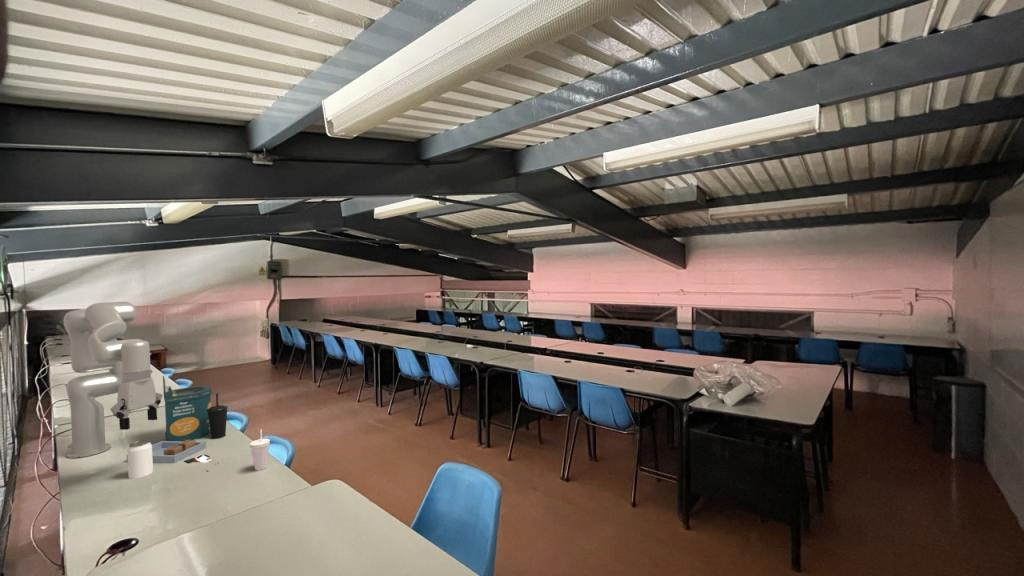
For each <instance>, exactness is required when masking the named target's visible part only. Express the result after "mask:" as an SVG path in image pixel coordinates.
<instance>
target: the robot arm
mask: <svg viewBox="0 0 1024 576" xmlns="http://www.w3.org/2000/svg"><path fill="white" fill-rule="evenodd" d="M137 315H138V312H137V309H136V307H135V305H134V304H133V303H131V302H129V301H109V302H106V301H105V302H97V303H92V304H90V305H89V306H87V307H86V308H85V309H75V310H71V311H68V312H67V313H65V315H64V316H63V326H64V329H65V331H66V333H67V334H68V335H67V336H68V337H69V340H70V359H71V360H70V362H71V369H72V371H73V372H74V373H77V374H83V373H84V374H85V373H93V374H86V375H81V376H77V377H73V378H72V379H70V380H69V381H68V382H67V384H66V394H67V397H68V398H67V399H68V401H69V408H70V418H71V419H70V422H71V423H70V424H71V442H70V443H69V444H67V445H66V448H68V449H71V450H70V451H69V452H67V455H66V457H67V458H69V459H78V457H80V458H85V457H90V456H95V455H98V454H101V453H103V452H106V451H108V450H109V449H111V447H112V444H111V443H108V442H107V443H106V428H105V427H106V426H105V425H106V424H105V408H104V406H103V405H104V404H102V403H101V402H100V401H98V400H96V398H99V397H103V396H110V395H115V394H117V399H116V400H117V401H116V403H115V404H114V405H113V406H112V407H111V408H110V411H111V413H112V414H113V416H114V417H116V419H118V421H119V422H118V423H119V430H120V431H123V430H126V431H127V430H130V429H131V424H130V422H131V421H130V417H128V416H130V414H131V412H132V411H133V412H134V411H137V410H140V409H142V408H147V420H148V421H157V420H158V410H157V409H158V408H159V407H160V404H161V402H162V399H163V397H164V394H162V393H159V392H156V387H155V383H154V379H153V377H152V373H153V370H152V369H151V353H150V351H151V350H150V343H149V341H147V340H143V339H141V338H133V339H132V338H131V339H122V340H116V339H117V338H119V337H121V336H122V335H124V333H125V332H126V331H127V325H129V324H131V323H133V322H134V321H135V320H136V318H137ZM106 370H108V371H106ZM99 371H106V372H101V373H94V372H99Z"/></svg>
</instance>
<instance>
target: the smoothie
mask: <svg viewBox="0 0 1024 576" xmlns="http://www.w3.org/2000/svg"><path fill="white" fill-rule="evenodd" d="M270 443H271V440H270V439H269V438H263V429H262V428H261V429H259V439H256V440H253V441H251V442H250V443H249V448H250V449H251V450H250V451H251V456H252V460H253V466H254V470H255V471H262V470H261V469H263V470H265V469H266V467H268V459H269V449H270V447H269V446H270ZM264 468H265V469H264Z"/></svg>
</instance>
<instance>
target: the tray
mask: <svg viewBox="0 0 1024 576" xmlns="http://www.w3.org/2000/svg"><path fill="white" fill-rule="evenodd" d="M181 442H182V441H166V440H161V441H158V442H157V443H156V442H155V443H154V444H151V445H152V458H153V464H156V463H157V464H158V463H159V464H176V463H178V462H180V461H182V460H185V459H186V458H188V457H191V456H192V455H195V454H197V453H199V452H201V451H203V450H206V449H207V444H206V443H207V442H206V441H196V446H193V447H191V448H189V449H187V450H185V451H183V452H180V453H178V454H176V455H164V450H165V449H167V448H169V447H171V446H178V443H181ZM126 462H127V463H128V454H126Z"/></svg>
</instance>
